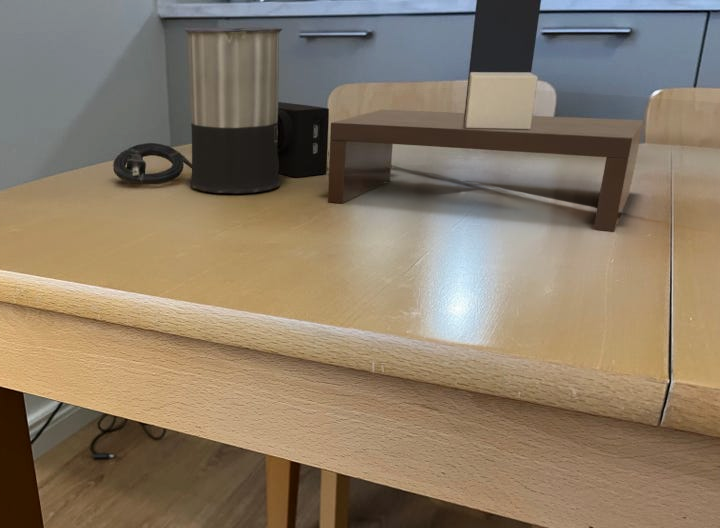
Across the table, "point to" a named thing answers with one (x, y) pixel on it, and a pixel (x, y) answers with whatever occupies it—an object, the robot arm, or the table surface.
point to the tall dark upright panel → (502, 65)
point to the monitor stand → (446, 129)
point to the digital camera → (302, 139)
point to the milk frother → (224, 115)
